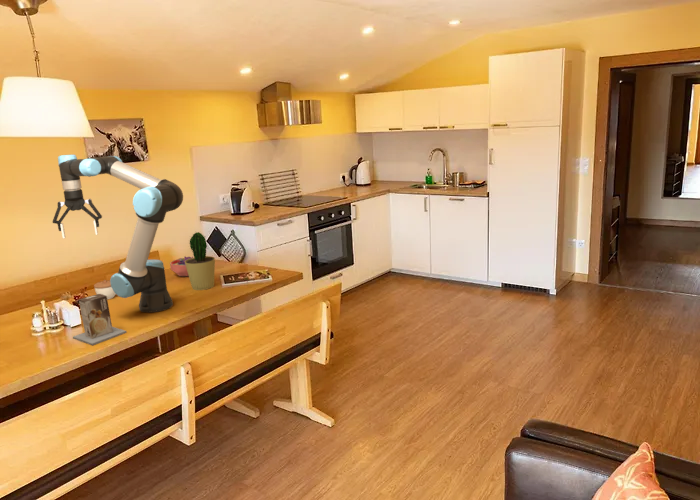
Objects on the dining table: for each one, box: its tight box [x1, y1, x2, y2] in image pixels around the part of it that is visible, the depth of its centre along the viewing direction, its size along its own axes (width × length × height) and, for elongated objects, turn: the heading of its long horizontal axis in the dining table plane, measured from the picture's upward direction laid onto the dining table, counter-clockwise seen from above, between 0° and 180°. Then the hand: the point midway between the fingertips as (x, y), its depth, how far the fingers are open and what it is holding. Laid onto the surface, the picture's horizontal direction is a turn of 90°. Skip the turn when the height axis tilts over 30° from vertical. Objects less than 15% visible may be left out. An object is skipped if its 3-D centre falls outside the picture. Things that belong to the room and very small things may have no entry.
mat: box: [72, 326, 127, 346], centre depth 227 cm, size 15×15×1 cm
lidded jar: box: [93, 279, 117, 300], centre depth 278 cm, size 11×11×9 cm
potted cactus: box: [185, 231, 216, 291], centre depth 285 cm, size 15×15×30 cm
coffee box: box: [78, 294, 113, 339], centre depth 225 cm, size 9×6×16 cm
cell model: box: [169, 256, 194, 277], centre depth 312 cm, size 17×20×11 cm
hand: (80, 236), depth 249 cm, fingers open, 13 cm apart
